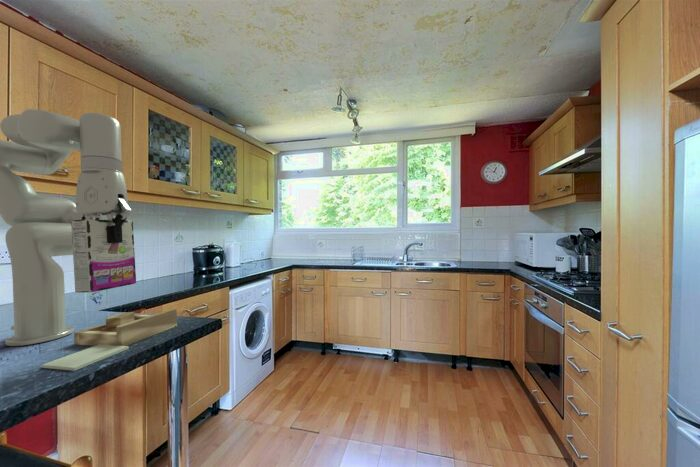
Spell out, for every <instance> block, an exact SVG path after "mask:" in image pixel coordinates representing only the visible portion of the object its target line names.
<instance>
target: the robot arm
mask: <svg viewBox="0 0 700 467" xmlns="http://www.w3.org/2000/svg"><path fill="white" fill-rule="evenodd" d="M0 132H2V134H3V135H4V136H5V138H8V140H5V139H0V217H1V218H2V220H3V221H4V222H5V223H6V224H7V225H9V226H10V227H9V229H7V231H6V233H5V240H4V241H5V244H6V248H7V251H8V255H9V259H10V263H11V272H12V274H11V275H12V276H11V277H12V301H13V302H12V304H13V325H12V326H11V327H10V330H11V331H13V333H14V335H12V336H10V337H8V338H6V340H5V345H6V346H9V347H19V346H20V347H22V346H28V345H29V346H30V345H35V344H39V343H44V342H49V341H53V340H57V339H61V338H63V337H66V336H68V335H70V334H72V333H74V327H73V326H69V325H67V324H66V300H65V299H66V294H65V293H66V292H65V273H64V270H63V268H62V266H61V265H59V264H58V262H56V260H54V259H53V257H59V256H60V257H61V256H63V257H64V256H73V242H72V226H71V221H72V220H82V219H98V220H103V219H102V218H103V216H106V220H108V223H109V225H110V226H107V242H108V243H122V226H124V222H125V220H127V219H128V217H129V216H130V215H131V214H132V213H133V210H132V208H130V206H129V202H128V200H129V199H128V191H127V190H128V189H127V185H126V184H127V183H126V179H125V175H124V173H123V156H122V153H123V152H122V135H121V134H122V130H121V124H120V121H119V120H117V119H115V117H112V116H111V115H107V114H103V113H97V112H85V113H82V114H81V115H80V117H79V119H77V118H73V117H71V116H67V115H63V114H60V113H56V112H52V111H48V110H44V109H33V108H31V109H30V108H28V109H25V110H23V112H21V114H19V113H18V114H9V115H7V116H5V117H4V118H3V119H1V122H0ZM9 140H10V141H9ZM73 151H76V152H80V171H81V172H79V174H78V176H77V177H78V178H77V183H76V191H75V192H76V193H75V202H74V201H72V200H70V199H67V198H65V197H64V198H63V197H57V196H56V197H55V196H44V195H39V194H37V192H36V191H35V189H34V188H33V186H32V184H31V183H29V181H27V180H26V179H25V178H24V177H22V176H20V175H18V174H16V173H15V172H18V173H24V174H31V175H40V176H49V175H52V174H54V173H55V172H56V171H58V170H59V168H60V167H61V166H62V164H63V163H64V162H65V160H67V159H68V157H69V156H70V155H71V154H72V152H73Z"/></svg>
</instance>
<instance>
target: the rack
mask: <svg viewBox="0 0 700 467" xmlns="http://www.w3.org/2000/svg"><path fill="white" fill-rule="evenodd" d="M134 318H135V320H136V321H132V322H129V323H126V324H123V325H120V326H117V327H116V330H117V332H102V331H101V329H102V328H105V327H106V322H104V323H101V324H98V325H95V326H91V327H89V328H85V329H81V330H79V331H75V332H74V331H73V341H74V345H78V346H90V347H93V346H96V345H99V344H101V345H117V346H130V345H133V344H135V343H137V342H140V341H143V340H145V339H148V338H150V337H152V336H155V335H158V334H160V333H163V332H166V331H168V330H171V329H173V328H176V327H178V320H177V319H178V312H177V308H171V309H168V310H164V311H160V312H158V313H155V314H135V313H134ZM175 326H176V327H175Z"/></svg>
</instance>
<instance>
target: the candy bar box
mask: <svg viewBox="0 0 700 467" xmlns="http://www.w3.org/2000/svg"><path fill="white" fill-rule="evenodd" d="M71 226H72V242H73V255H72V256H73V258H72V262H73V275H74V277H73V278H74V292H75V293H96V292H100V291H105V290H106V291H107V290H110V289H116V288H120V287H121V288H122V287H124V286H130V285H135V284H137V276H136V256H135V238H134V221H133V220H127V219H126V220H125V222H124V226H122V243H108V242H107V226H110V225H109V223H108V219H101V220H98V219H95V218H93V219H82V220H72V221H71Z"/></svg>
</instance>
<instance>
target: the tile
mask: <svg viewBox="0 0 700 467" xmlns="http://www.w3.org/2000/svg"><path fill="white" fill-rule="evenodd" d="M129 346H130V345H128V346H117V345H101V344H99V345H96V346H90V347H87V348H84V349H82V350H80V351H76V352H74V353H71V354H68V355H66V356H62V357H60V358H57V359H55V360H52V361H48V362H45V363H43V364H41V368H43V369H51V370H53V369H54V370H63V371H73V372H75V371H77V370H78V371H79V370H80V369H82V368H85V367H88V366H90V365H93V364H94V363H97V362H100V361H102V360H104V359H107V358H110V357H112V356H114V355H116V354H119V353H122V352H124V351H127V350H129V349H130V348H129Z"/></svg>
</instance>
